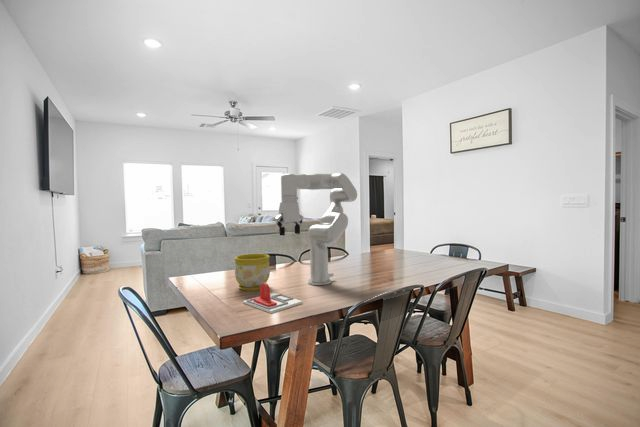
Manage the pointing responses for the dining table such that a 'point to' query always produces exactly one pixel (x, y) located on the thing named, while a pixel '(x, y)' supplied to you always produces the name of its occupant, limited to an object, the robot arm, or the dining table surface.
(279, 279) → the dining table surface
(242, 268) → the flowerpot
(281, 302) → the fitting board
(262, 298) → the bracket
